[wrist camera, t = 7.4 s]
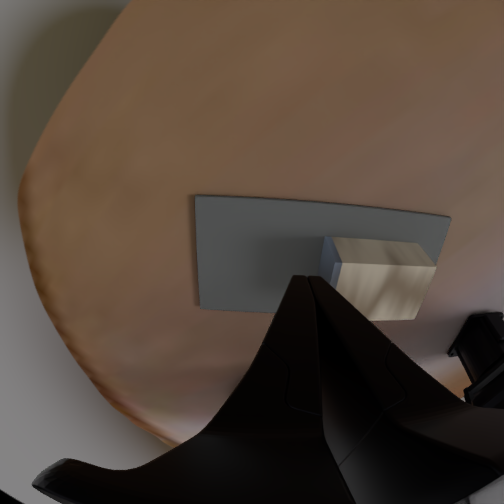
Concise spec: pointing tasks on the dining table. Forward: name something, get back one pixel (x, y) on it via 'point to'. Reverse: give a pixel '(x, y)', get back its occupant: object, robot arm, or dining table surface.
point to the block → (378, 275)
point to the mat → (287, 243)
